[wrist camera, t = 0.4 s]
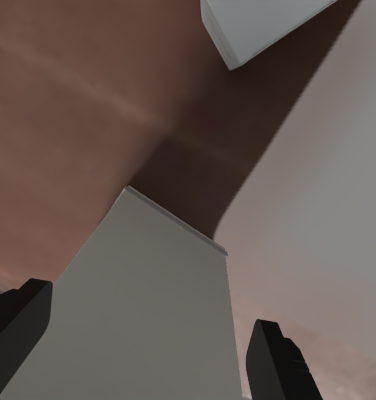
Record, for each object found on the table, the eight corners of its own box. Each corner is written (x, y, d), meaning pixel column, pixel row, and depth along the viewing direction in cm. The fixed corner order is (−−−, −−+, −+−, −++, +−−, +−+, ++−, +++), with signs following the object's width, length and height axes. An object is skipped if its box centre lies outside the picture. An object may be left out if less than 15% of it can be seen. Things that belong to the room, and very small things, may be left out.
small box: (275, -36, 27) (315, -105, 17) (302, 23, 29) (353, -9, 19) (199, 19, 29) (196, -14, 19) (228, 72, 31) (240, 66, 21)
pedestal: (93, 234, 38) (-317, 787, 8) (128, 182, 35) (-293, 721, 5) (187, 292, 40) (139, 886, 10) (226, 248, 38) (311, 873, 8)
